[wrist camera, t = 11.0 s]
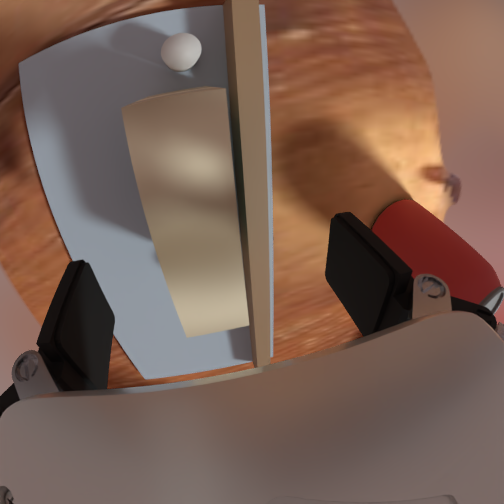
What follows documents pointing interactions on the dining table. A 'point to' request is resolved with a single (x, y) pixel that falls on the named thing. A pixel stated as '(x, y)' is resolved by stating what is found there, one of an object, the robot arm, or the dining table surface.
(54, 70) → the ledge
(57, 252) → the dining table surface
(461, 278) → the beer can
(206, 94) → the beige tapered block
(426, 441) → the robot arm
